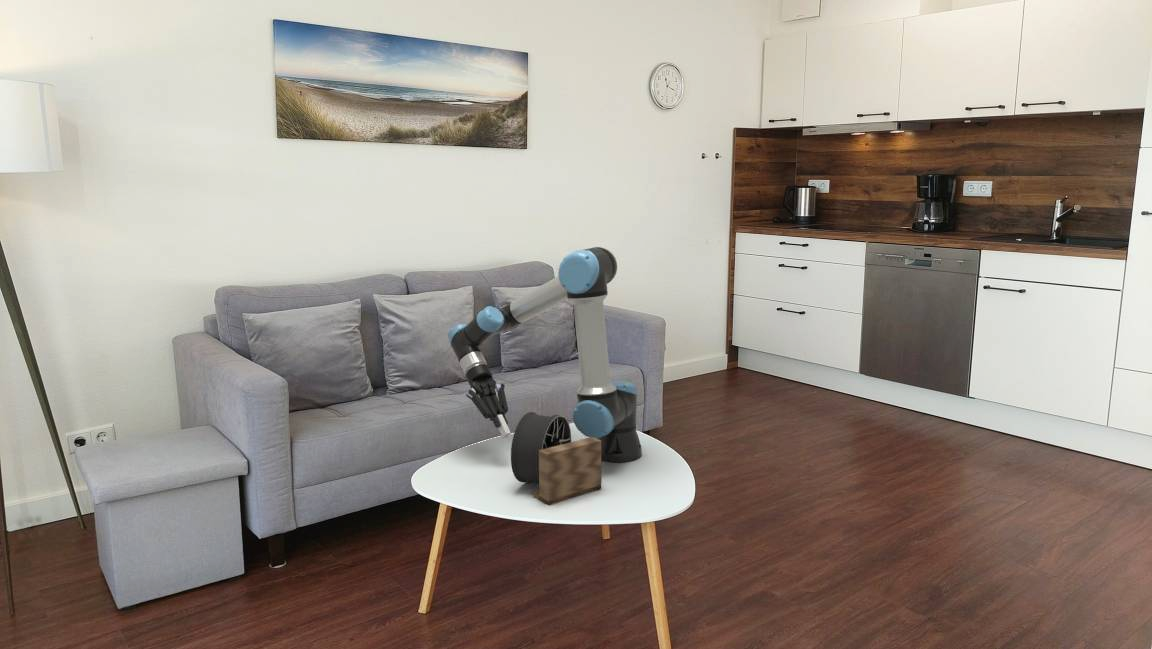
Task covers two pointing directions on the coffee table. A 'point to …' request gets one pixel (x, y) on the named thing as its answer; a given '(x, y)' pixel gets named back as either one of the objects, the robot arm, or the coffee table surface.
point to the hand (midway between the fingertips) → (506, 435)
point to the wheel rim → (536, 442)
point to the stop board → (569, 470)
